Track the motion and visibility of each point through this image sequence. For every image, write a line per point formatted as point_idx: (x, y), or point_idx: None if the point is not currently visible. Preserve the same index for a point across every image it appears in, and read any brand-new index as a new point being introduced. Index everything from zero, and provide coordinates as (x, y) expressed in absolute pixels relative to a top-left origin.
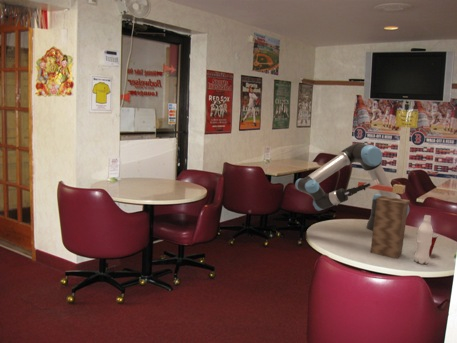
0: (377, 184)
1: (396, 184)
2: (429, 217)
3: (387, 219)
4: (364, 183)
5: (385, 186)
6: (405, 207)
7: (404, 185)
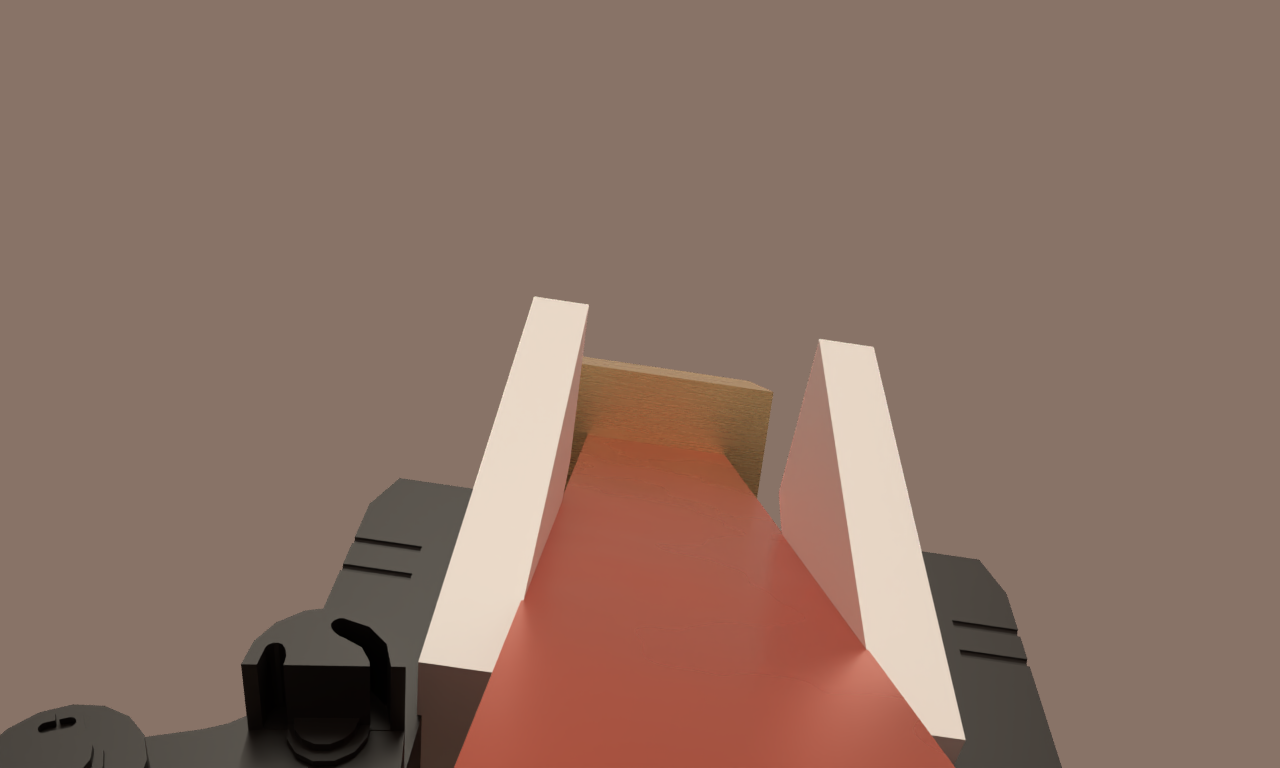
0: (579, 502)
1: (616, 367)
2: None
3: None
4: (880, 685)
5: (727, 478)
6: None
7: (586, 357)
